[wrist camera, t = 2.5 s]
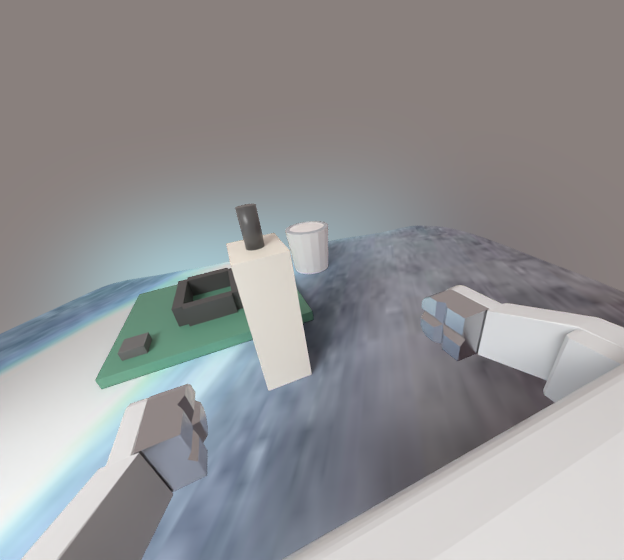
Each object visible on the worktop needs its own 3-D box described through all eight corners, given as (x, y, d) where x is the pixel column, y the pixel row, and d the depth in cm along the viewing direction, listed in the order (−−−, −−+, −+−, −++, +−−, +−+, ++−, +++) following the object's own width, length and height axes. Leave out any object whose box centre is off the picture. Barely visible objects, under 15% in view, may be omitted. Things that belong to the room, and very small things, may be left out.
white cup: (339, 261, 43) (336, 221, 40) (316, 279, 39) (310, 235, 35) (308, 256, 47) (303, 219, 44) (283, 271, 43) (275, 231, 39)
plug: (268, 391, 22) (216, 219, 15) (258, 353, 26) (215, 206, 19) (311, 374, 23) (282, 206, 16) (295, 340, 27) (266, 196, 20)
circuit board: (101, 389, 24) (80, 361, 23) (143, 300, 40) (132, 280, 38) (313, 319, 30) (309, 292, 28) (278, 265, 45) (274, 246, 43)
